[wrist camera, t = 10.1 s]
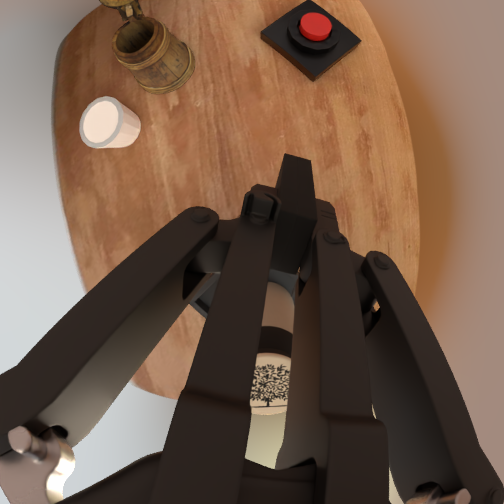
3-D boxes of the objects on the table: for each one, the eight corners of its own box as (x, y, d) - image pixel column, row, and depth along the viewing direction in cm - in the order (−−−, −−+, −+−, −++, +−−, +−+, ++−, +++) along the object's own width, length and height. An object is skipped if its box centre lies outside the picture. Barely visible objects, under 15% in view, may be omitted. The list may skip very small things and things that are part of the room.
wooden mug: (186, 13, 31) (149, -56, 14) (199, 83, 35) (155, 23, 17) (133, 32, 32) (76, -23, 15) (140, 102, 35) (68, 63, 18)
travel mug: (240, 278, 40) (223, 348, 23) (297, 283, 40) (318, 355, 23) (236, 328, 42) (220, 413, 25) (289, 332, 42) (301, 418, 25)
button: (335, 31, 29) (337, 26, 27) (315, 46, 29) (317, 40, 28) (312, 14, 28) (314, 8, 26) (293, 28, 29) (294, 21, 27)
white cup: (108, 157, 37) (82, 155, 31) (101, 116, 36) (76, 108, 29) (148, 143, 37) (126, 137, 30) (140, 100, 35) (119, 87, 28)
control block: (357, 46, 32) (365, 35, 28) (313, 82, 34) (318, 72, 30) (307, 5, 31) (310, -8, 27) (260, 38, 32) (260, 25, 29)
